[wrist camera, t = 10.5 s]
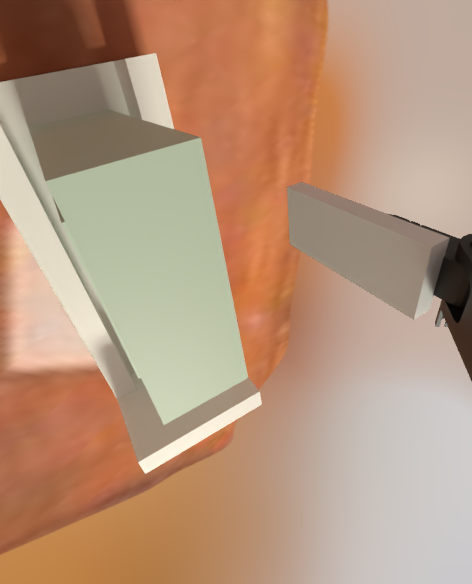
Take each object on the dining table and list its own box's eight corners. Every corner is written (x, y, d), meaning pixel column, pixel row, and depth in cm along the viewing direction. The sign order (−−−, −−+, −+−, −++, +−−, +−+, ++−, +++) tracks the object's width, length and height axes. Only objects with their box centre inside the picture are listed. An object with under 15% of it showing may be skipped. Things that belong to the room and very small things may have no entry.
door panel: (25, 128, 17) (38, 183, 8) (111, 108, 18) (205, 136, 9) (102, 290, 23) (160, 426, 14) (162, 266, 24) (251, 376, 15)
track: (-53, 91, 15) (-96, 99, 9) (138, 56, 18) (199, 44, 12) (117, 390, 28) (145, 474, 22) (213, 341, 31) (261, 404, 25)
